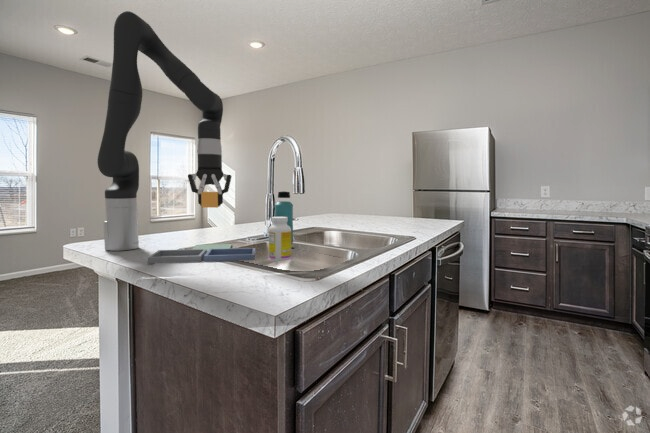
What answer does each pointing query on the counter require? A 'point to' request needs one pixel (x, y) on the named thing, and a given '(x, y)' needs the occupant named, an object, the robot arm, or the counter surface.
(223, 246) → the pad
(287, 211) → the beverage bottle
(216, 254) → the navy tray
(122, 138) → the robot arm
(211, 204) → the orange cube
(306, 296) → the counter surface
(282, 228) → the supplement bottle
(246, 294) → the counter surface
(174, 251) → the grey tray
